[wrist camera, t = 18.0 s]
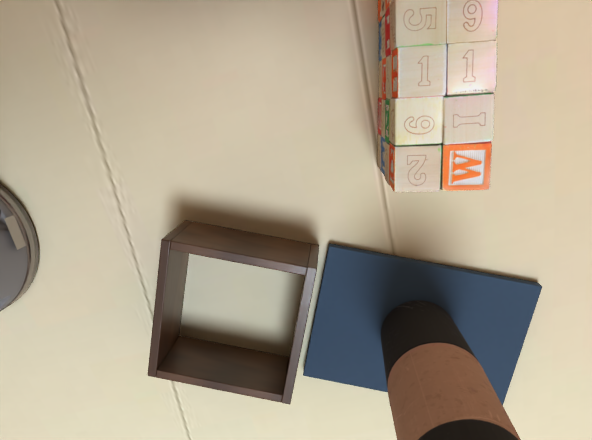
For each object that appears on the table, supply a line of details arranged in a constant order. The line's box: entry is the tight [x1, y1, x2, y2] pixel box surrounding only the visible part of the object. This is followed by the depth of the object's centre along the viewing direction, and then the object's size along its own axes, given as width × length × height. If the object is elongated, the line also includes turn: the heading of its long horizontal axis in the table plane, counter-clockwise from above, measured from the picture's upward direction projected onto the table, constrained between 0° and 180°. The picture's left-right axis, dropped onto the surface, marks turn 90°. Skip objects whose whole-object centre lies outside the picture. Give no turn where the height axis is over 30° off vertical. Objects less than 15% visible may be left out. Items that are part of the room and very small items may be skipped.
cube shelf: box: [148, 220, 319, 404], centre depth 44 cm, size 13×13×6 cm
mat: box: [303, 243, 542, 406], centre depth 46 cm, size 20×14×1 cm
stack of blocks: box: [377, 0, 498, 192], centre depth 34 cm, size 21×6×12 cm, turn 2°
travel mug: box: [381, 300, 520, 440], centre depth 36 cm, size 8×8×20 cm
